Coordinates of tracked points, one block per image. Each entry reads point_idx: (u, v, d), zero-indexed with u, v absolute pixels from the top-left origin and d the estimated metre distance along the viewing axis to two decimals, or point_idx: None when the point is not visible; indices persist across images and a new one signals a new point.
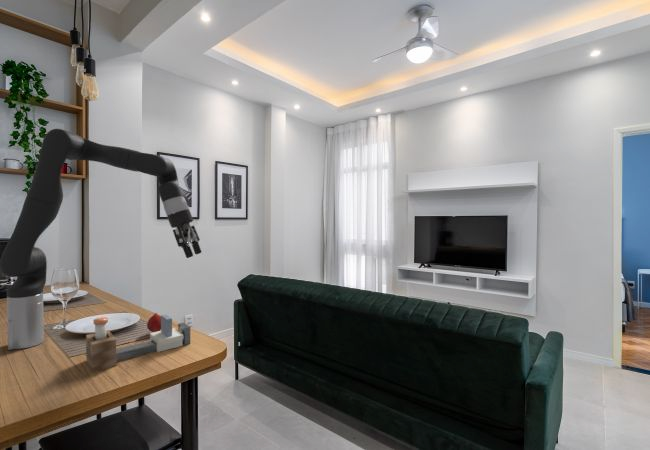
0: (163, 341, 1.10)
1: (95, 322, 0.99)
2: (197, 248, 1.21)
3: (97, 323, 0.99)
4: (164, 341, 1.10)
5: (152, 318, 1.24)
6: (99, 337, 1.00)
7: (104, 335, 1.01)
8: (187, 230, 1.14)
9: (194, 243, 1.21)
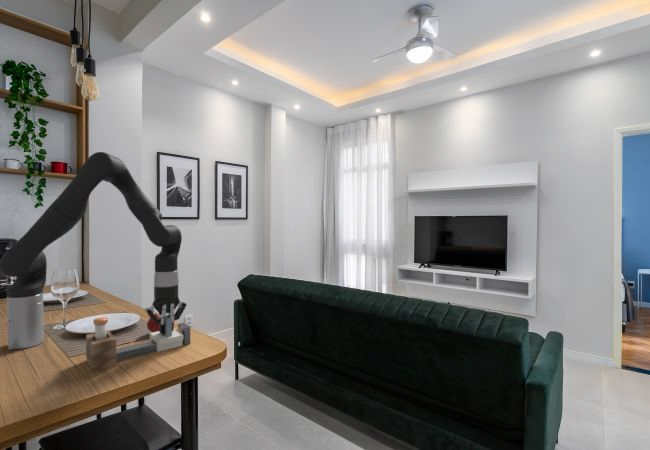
0: (163, 341, 1.10)
1: (95, 322, 0.99)
2: None
3: (97, 323, 0.99)
4: (164, 341, 1.10)
5: None
6: (99, 337, 1.00)
7: (104, 335, 1.01)
8: (162, 308, 1.12)
9: None
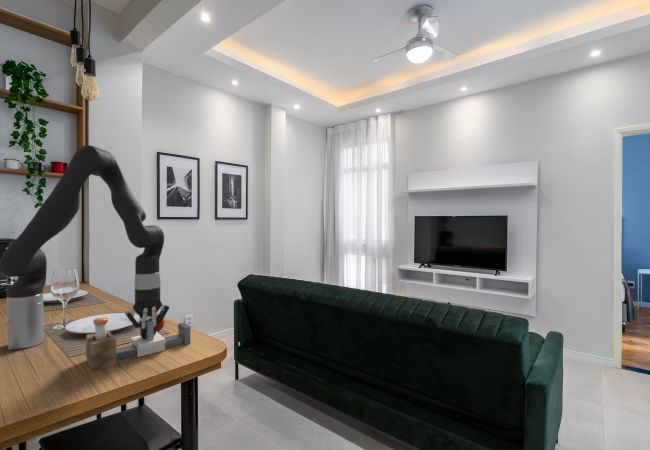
0: (144, 346, 1.06)
1: (95, 322, 0.99)
2: None
3: (97, 323, 0.99)
4: (145, 346, 1.06)
5: None
6: (99, 337, 1.00)
7: (104, 335, 1.01)
8: (142, 311, 1.08)
9: None
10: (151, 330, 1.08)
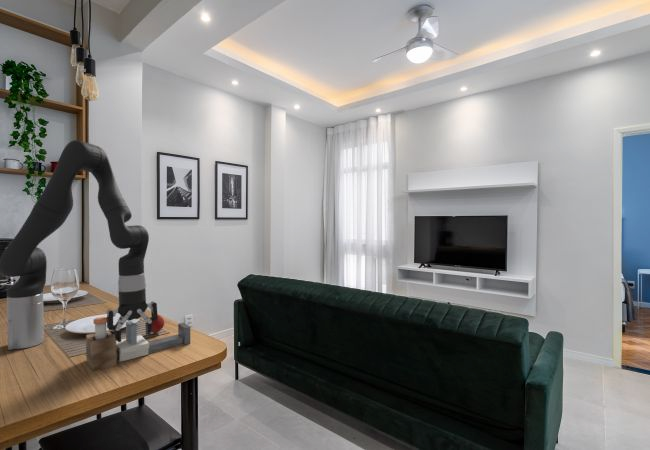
0: (126, 350, 1.02)
1: (95, 322, 0.99)
2: (146, 329, 1.10)
3: (97, 323, 0.99)
4: (127, 350, 1.03)
5: None
6: (99, 337, 1.00)
7: (104, 335, 1.01)
8: (126, 312, 1.05)
9: (146, 322, 1.10)
10: (134, 334, 1.05)
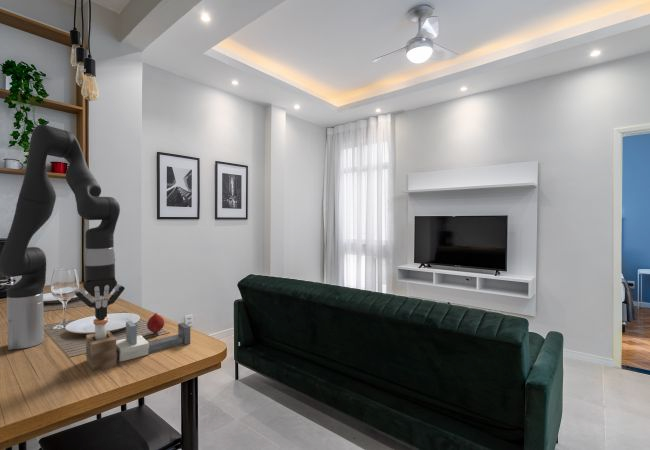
0: (126, 350, 1.02)
1: (95, 322, 0.99)
2: None
3: (97, 323, 0.99)
4: (127, 350, 1.03)
5: (152, 318, 1.24)
6: (99, 337, 1.00)
7: (104, 335, 1.01)
8: (94, 290, 0.98)
9: (101, 306, 1.01)
10: (134, 334, 1.05)
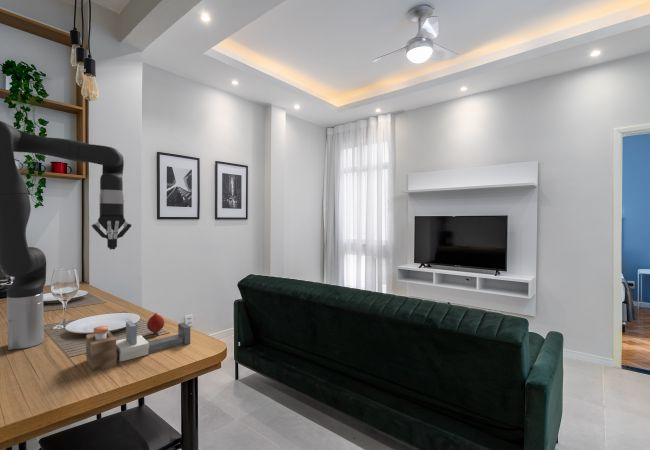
0: (126, 350, 1.02)
1: (95, 331, 1.00)
2: None
3: (97, 332, 1.00)
4: (127, 350, 1.03)
5: (152, 318, 1.24)
6: None
7: None
8: (107, 223, 1.21)
9: (112, 238, 1.24)
10: (134, 334, 1.05)
